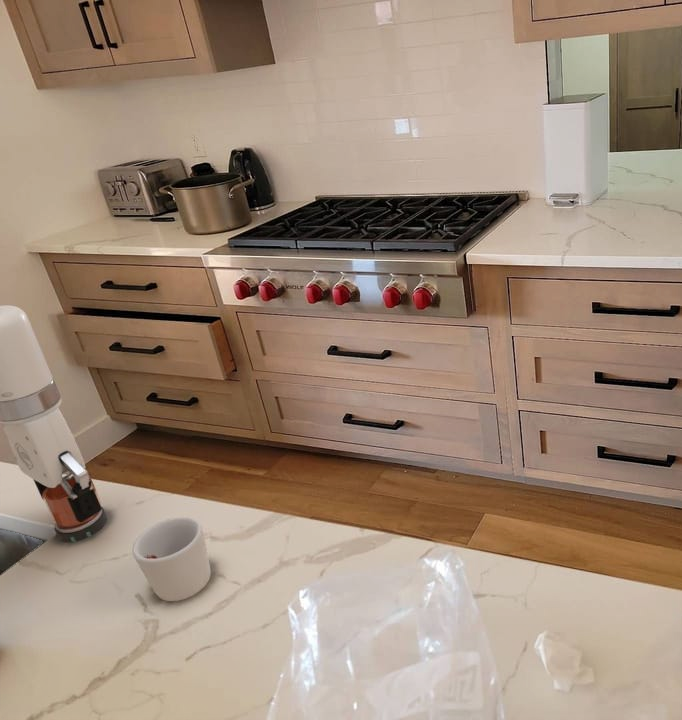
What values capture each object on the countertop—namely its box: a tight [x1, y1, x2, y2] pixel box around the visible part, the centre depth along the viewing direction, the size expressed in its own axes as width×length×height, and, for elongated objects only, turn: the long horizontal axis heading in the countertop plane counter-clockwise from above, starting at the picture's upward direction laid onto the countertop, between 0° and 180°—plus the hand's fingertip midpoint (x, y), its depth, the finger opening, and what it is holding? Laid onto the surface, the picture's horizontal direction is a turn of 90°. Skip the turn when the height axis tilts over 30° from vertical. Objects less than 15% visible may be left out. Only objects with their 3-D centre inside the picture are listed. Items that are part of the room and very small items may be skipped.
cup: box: [132, 516, 211, 602], centre depth 85 cm, size 11×8×8 cm
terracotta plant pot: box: [41, 475, 102, 527], centre depth 96 cm, size 6×6×5 cm
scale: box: [54, 506, 108, 543], centre depth 97 cm, size 6×6×3 cm
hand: (72, 505), depth 96 cm, fingers open, 9 cm apart
